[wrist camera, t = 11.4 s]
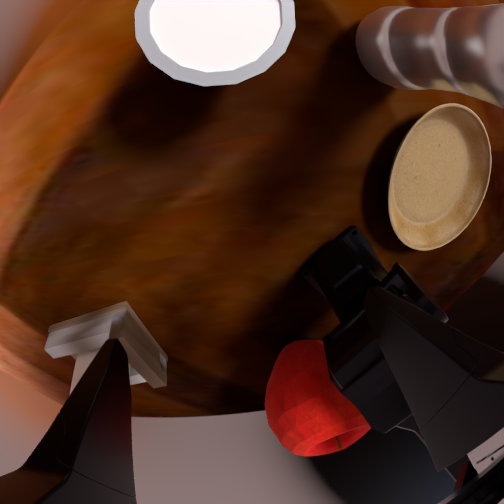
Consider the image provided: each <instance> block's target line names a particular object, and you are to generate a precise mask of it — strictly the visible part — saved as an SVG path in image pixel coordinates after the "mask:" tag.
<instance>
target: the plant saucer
mask: <svg viewBox="0 0 504 504" xmlns="http://www.w3.org/2000/svg"><path fill="white" fill-rule="evenodd" d="M490 172H491V147H490V143H489V138H488V135H487V132H486V129H485V127H484V125H483V123H482V122H481V120H480V119H479V117H478V116H477V115H476V114H475V113H474V112H473V111H472V110H470V109H469V108H467V107H465V106H463V105H460V104H454V103H450V104H444V105H440V106H437V107H435V108H433V109H432V110H430V111H428V112H427V113H426V114H424V115H423V116H422V117H420V118H419V119H418V120H417V121H416V122H415V123H414V124H413V125H412V127H411V128H410V129H409V130H408V132H407V133H406V135H405V136H404V138H403V140H402V141H401V143H400V145H399V147H398V149H397V152H396V154H395V157H394V160H393V163H392V167H391V171H390V176H389V184H388V208H389V216H390V221H391V225H392V227H393V230H394V231H395V233H396V235H397V237H398V238H399V239H400V240H401V241H402V242H403V243H404V244H405V245H407V246H408V247H410V248H413V249H416V250H423V251H424V250H432V249H436V248H439V247H441V246H443V245H445V244H447V243H449V242H450V241H452V240H453V239H454V238H456V237H457V236H458V235H459V234H460V233H461V232H462V231H463V230H464V229H465V228H466V227H467V226H468V224H469V223H470V222H471V220H472V219H473V218H474V216H475V215H476V213H477V211H478V209H479V208H480V206H481V203H482V201H483V199H484V196H485V193H486V191H487V187H488V183H489V179H490Z"/></svg>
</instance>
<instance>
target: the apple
mask: <svg viewBox="0 0 504 504" xmlns="http://www.w3.org/2000/svg"><path fill="white" fill-rule="evenodd" d="M265 409H266V414H267V419H268V423H269V426H270V428H271V429H272V431H273V432H274V434H275V435H276V436H277V438H278V439H279V441H280V442H281V444H282V445H283V446H284V447H286V448H287V449H288V450H289V451H291V452H292V453H293V454H296V455H301V456H317V455H323V454H329V453H333V452H336V451H339V450H342V449H345V448H347V447H348V446H350V445H351V444H353V443H354V442H355V441H356V440H358V439H359V438H360V437H362V436H363V435H364V434H365V433H366V432H367V431H368V430H369V429H370V428H371V427H370V425H369V424H368V423H367V421H366V420H365V418H364V417H363V415H362V414H361V413H360V411H359V410H358V409H357V408H356V407H355V406H354V405H353V403H352V402H351V401H349V400H348V399H347V398H346V397H345V396H343V395H342V394H341V392H340V391H339V390H338V389H337V388H336V387H335V385H334V384H333V383H332V382H331V380H330V376H329V372H328V366H327V360H326V355H325V349H324V344H323V341H320V340H313V339H305V340H298V341H294V342H292V343H290V344H288V345H286V346H285V347H284V348H283V350H282V351H281V352H280V354H279V355H278V358H277V360H276V362H275V364H274V367H273V370H272V373H271V376H270V379H269V381H268V384H267V388H266V396H265Z"/></svg>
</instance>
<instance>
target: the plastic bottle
mask: <svg viewBox="0 0 504 504" xmlns="http://www.w3.org/2000/svg"><path fill="white" fill-rule="evenodd" d="M356 49H357V53H358V56H359V59H360V61H361V63H362V65H363V66H364V68H365V69H366V70H367V72H368V73H369V74H370V75H371V76H372V77H374V78H375V79H377V80H378V81H380V82H382V83H385V84H387V85H389V86H392V87H394V88H396V89H401V90H423V89H437V90H446V91H453V92H460V93H463V94H466V95H469V96H473V97H475V98H478V99H481V100H483V101H486V102H489V103H492V104H494V105H496V106H498V107H500V108H502V109H504V4H495V5H487V6H471V7H462V8H447V9H443V8H412V7H406V6H388V7H382V8H380V9H377V10H375V11H373V12H372V13H370V14H368V15H367V16H365V17H364V18H363V19H362V21H361V22H360V24H359V26H358V28H357V32H356Z"/></svg>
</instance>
